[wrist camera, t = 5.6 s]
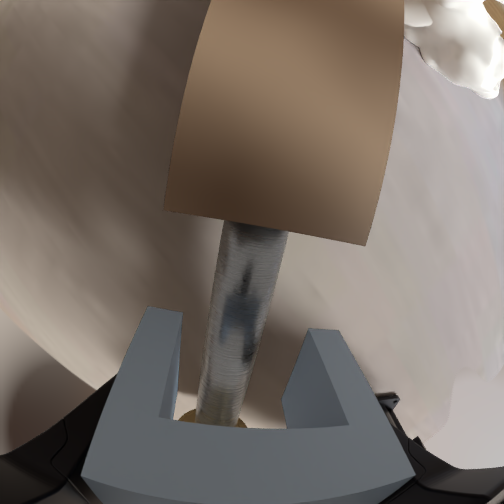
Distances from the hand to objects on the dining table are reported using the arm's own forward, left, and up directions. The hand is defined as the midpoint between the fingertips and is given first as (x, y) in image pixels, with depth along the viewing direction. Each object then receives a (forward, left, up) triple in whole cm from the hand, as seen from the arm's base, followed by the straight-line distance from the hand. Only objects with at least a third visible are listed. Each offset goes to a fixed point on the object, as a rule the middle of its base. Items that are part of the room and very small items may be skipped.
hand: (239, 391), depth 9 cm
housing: (0, -14, -8) cm, 16 cm away
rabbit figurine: (-10, -21, -8) cm, 24 cm away
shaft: (0, 0, -6) cm, 6 cm away
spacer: (0, 0, -2) cm, 2 cm away
